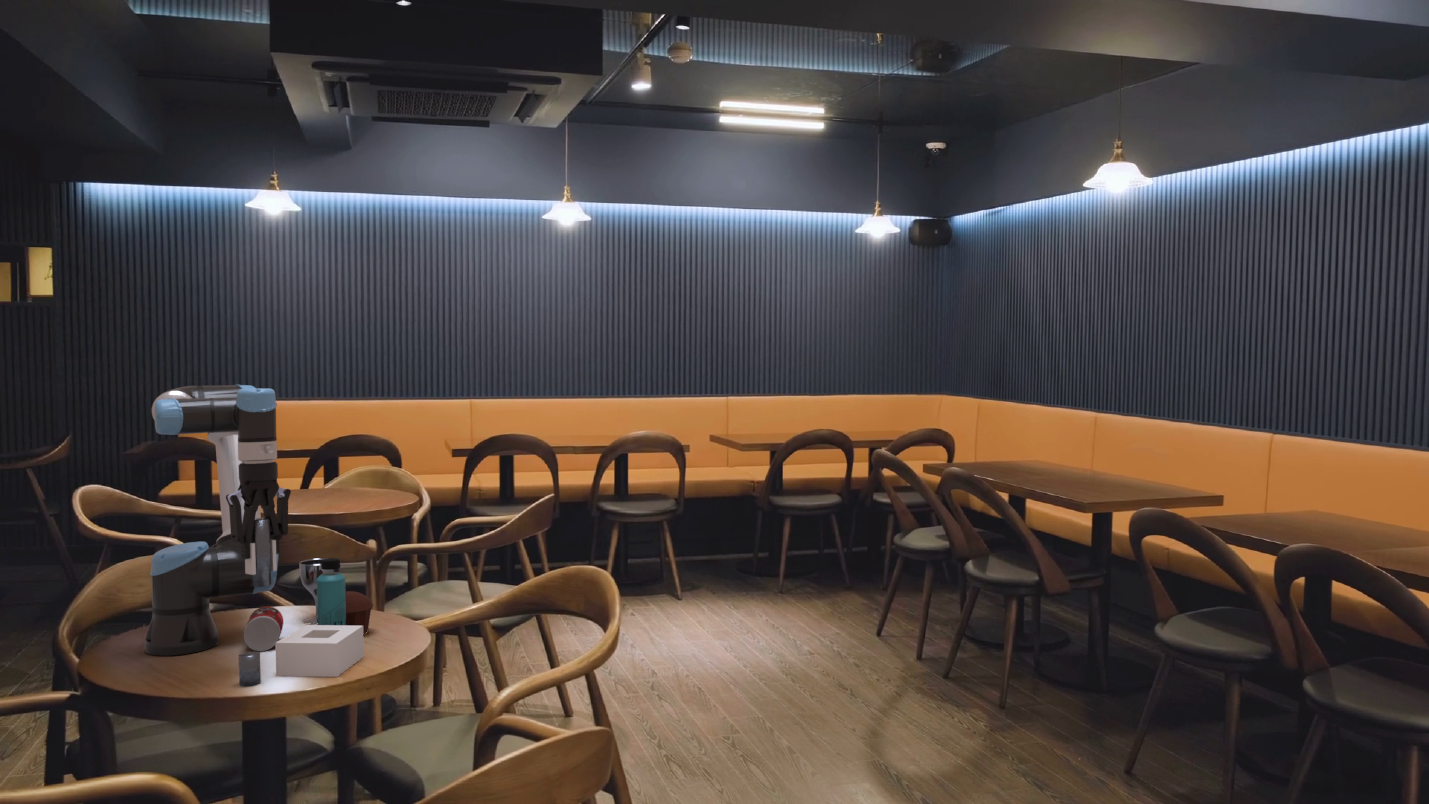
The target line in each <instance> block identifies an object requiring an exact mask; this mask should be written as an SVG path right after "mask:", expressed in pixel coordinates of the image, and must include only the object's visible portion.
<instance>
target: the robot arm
mask: <svg viewBox="0 0 1429 804" xmlns="http://www.w3.org/2000/svg"><path fill="white" fill-rule="evenodd" d="M151 405H152V406H151V416H152V419H153V421H154V427H155V432H156V434H158V435H170V436H175V435H176V436H177V435H191V434H207V438H208V439H207V440H208V441H210V443H212V444H213V445H215V452H216V454H215V455H216V457H215V458H216V465H217V466H216V468H217V469H216V470H217V479H218V491H219V501H220V502H219V503H220V513H221V529H222V534H221V535H220V536H219V537H218V538H217V539H216V546H215V547H209V545H208V542H206V541H191V542H185V543H180V544H175V545H171V546H168V547H165V548H163V549H159V550H158V551H156V552H155V553H154V554H153V556H152V558H151V565H150V567H151V569H150V573H149V574H150V576H151V593H152V594H151V596H152V597H151V599H152V600H151V601H152V602H151V603H152V604H151V606H152V615H151V616H152V617H151V620H150V623H149V625H148V629H147V633H146V635H145V640H144V652H145V654H148V655H152V656H166V657H167V656H181V655H187V654H194V653H197V652H198V653H199V652H202V651H206V650H209V649H211V648H214V647H215V646H217V645H218V644H219V640H220V638H219V635H220V633H219V630H218V628H217V625H216V623H215V621H214V618H213V615H212V613H211V609H210V599H215V598H224V597H232V596H233V597H234V596H243V595H255V594H258V593H264V592H269V591H271V590H272V589H273V588H274V587H275V585H276V581H277V575H278V568H279V567H278V566H279V554H280V540H282V539H283V537H284V536H287V535H288V533H289V500H290V497H291V493H292V491H291V489H290V488H283V487H280V485H279V483H278V478H279V472H278V471H279V470H278V469H279V468H278V463H277V461H275V460H276V459H277V458H278V450H277V449H278V445H277V444H278V443H277V407H278V406H277V402H276V392H275V390H274V389H272V388H259V387H258V388H256V387H255V386H254V385H246V384H243V385H242V384H238V383H236V384H233V385H232V384H231V385H230V384H229V385H227V384H226V385H225V384H224V385H188V386H187V385H186V386H181V387H177V388H173V389H169V390H166V391H165V392H162V393H161V394H160V395H158V396H157V397H156V398H155V399H154V401H153V403H152V404H151ZM275 496H276V497H277V498H276V504H275ZM275 507H276V511H275ZM261 509H262V512H263V518H270V540H271V576H272V585H269V586H264V587H252V586H251V575H255V574H256V559H255V543H251V540H252V534H253V528H254V521H255V518H262V516H261Z"/></svg>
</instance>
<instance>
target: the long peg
mask: <svg viewBox="0 0 1429 804" xmlns="http://www.w3.org/2000/svg"><path fill="white" fill-rule="evenodd" d="M251 543H255V559H256V574H255V575H251V586H252V587H264V586H269V585H272V576H271V540H270V518H265V517H261V518H255V521H254V528H253V534H252V540H251Z"/></svg>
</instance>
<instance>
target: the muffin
mask: <svg viewBox="0 0 1429 804" xmlns="http://www.w3.org/2000/svg"><path fill="white" fill-rule="evenodd" d="M345 591H346V602H347V603H346V613H347V614H346V621H347V625H351V626H363V635H364V634H365V633H366V632H368V633H369V625H370V618H371V612H372V611H371V610H372V608H373V607H374V603H373V602H372V600H371V599H370V598H369V596H367V595H365V594H363V593H361V592H358V591H354V590H353V591H351V590H345ZM366 634H367V633H366ZM366 634H365V635H366ZM365 635H364V636H365Z"/></svg>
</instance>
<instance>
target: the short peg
mask: <svg viewBox="0 0 1429 804" xmlns="http://www.w3.org/2000/svg"><path fill="white" fill-rule="evenodd" d="M261 671H262V670H261V652H260V651H248V652H242V653H240V654H238V685H240V687H242V688H243V687H244V688H248V687H254V686H255V687H256V686H259V685H260V684H261V682H262V677H261Z"/></svg>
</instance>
